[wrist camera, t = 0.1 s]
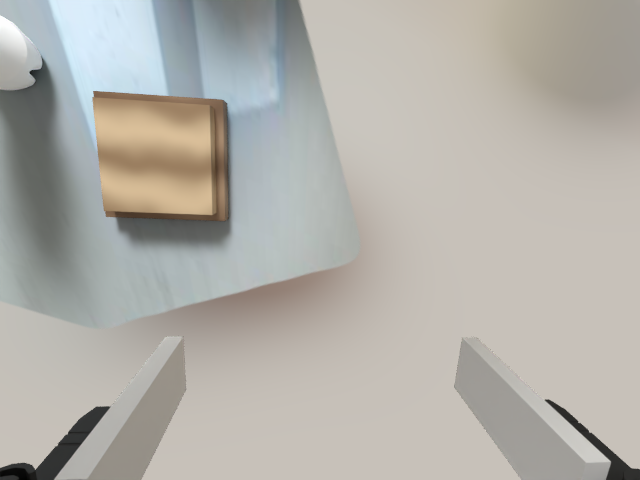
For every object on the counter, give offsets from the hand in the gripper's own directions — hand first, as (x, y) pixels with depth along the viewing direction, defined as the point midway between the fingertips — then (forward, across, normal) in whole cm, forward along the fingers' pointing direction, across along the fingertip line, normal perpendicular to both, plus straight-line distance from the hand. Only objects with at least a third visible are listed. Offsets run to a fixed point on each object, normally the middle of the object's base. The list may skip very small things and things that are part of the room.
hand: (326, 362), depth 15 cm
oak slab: (+26, -17, +9) cm, 32 cm away
